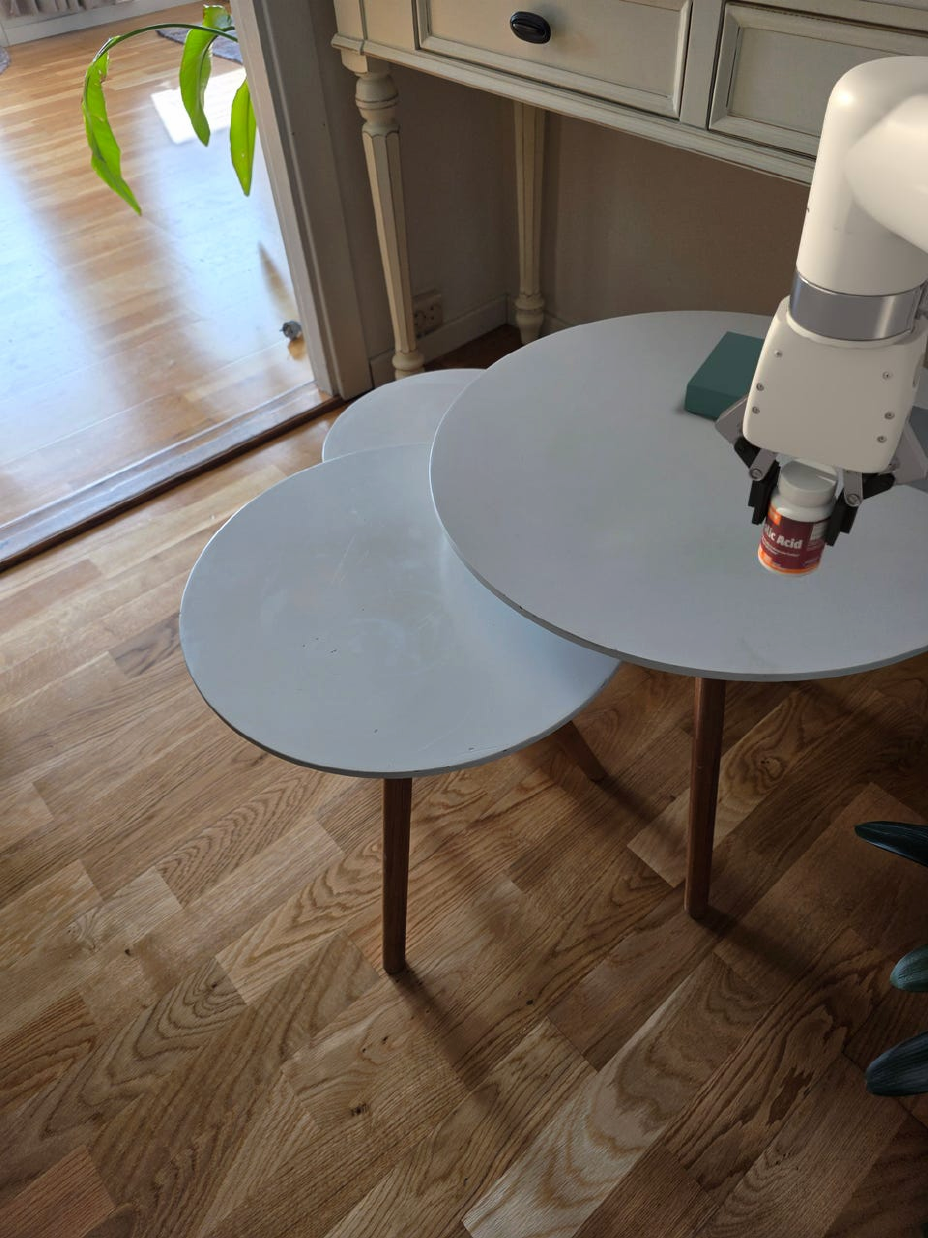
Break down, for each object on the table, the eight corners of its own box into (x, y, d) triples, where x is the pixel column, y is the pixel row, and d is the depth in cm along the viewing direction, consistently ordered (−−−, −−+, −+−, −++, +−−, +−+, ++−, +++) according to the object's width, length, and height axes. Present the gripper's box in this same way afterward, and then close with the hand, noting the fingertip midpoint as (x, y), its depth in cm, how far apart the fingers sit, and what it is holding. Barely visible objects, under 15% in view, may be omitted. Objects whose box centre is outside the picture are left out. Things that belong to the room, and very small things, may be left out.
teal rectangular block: (865, 389, 94) (878, 347, 91) (833, 451, 87) (845, 409, 84) (722, 356, 101) (729, 315, 97) (681, 412, 94) (687, 370, 90)
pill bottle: (744, 558, 70) (761, 473, 64) (783, 531, 71) (803, 446, 65) (793, 588, 67) (816, 503, 61) (832, 560, 69) (858, 474, 63)
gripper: (1017, 294, 52) (926, 527, 65) (739, 251, 59) (707, 469, 72) (995, 353, 48) (902, 590, 61) (699, 299, 55) (673, 521, 68)
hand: (797, 522), depth 66 cm, fingers closed on pill bottle, 4 cm apart
